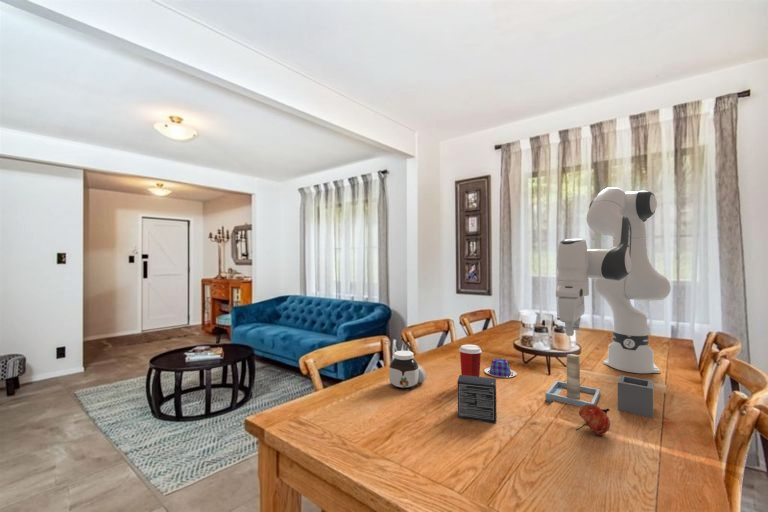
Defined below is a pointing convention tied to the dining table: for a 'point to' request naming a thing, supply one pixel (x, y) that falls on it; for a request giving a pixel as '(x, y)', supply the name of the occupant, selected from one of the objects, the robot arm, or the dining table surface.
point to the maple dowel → (573, 376)
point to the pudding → (500, 368)
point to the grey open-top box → (635, 396)
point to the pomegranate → (595, 418)
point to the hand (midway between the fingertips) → (573, 332)
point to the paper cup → (470, 360)
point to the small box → (477, 398)
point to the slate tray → (556, 389)
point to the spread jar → (405, 371)
